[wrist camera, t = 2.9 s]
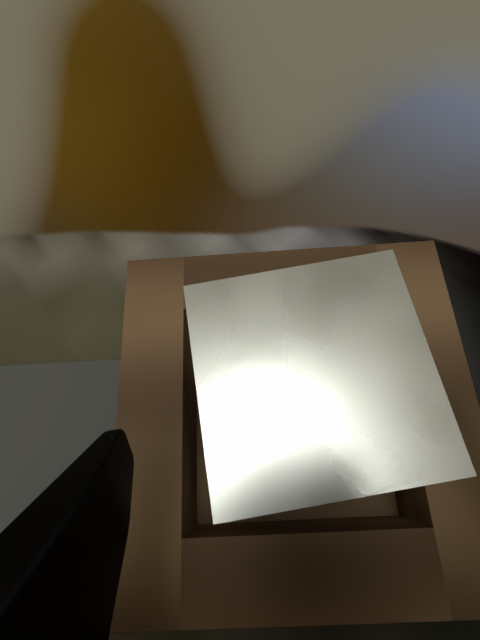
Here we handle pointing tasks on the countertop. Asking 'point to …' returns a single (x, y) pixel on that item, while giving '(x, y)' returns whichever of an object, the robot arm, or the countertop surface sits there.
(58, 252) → the countertop surface
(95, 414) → the rubber pad
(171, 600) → the brown square tray
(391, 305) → the steel peg
